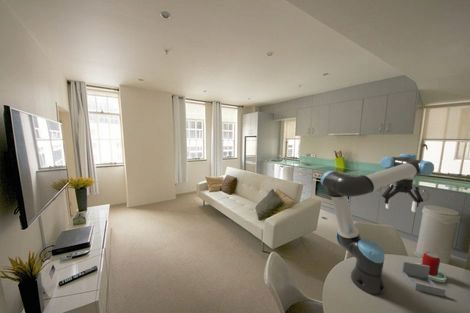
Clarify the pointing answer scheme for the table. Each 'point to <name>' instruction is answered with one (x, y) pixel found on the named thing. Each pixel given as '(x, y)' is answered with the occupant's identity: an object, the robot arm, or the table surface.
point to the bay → (421, 272)
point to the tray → (439, 278)
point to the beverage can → (431, 262)
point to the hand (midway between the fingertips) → (400, 210)
